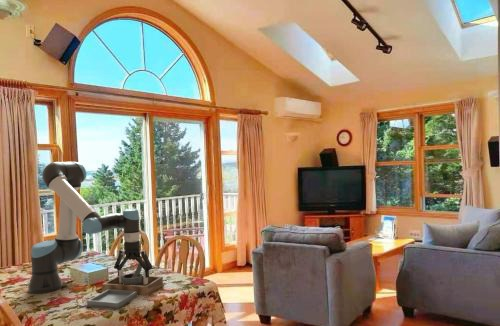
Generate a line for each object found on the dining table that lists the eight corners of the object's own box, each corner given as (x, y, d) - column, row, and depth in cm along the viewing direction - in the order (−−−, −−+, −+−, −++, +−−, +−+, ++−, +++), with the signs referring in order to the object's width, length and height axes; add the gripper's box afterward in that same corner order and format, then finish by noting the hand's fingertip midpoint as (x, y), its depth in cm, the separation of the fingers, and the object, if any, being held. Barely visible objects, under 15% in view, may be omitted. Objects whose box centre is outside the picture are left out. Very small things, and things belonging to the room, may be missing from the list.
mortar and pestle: (128, 294, 187) (127, 269, 187) (118, 290, 194) (117, 266, 194) (148, 288, 195) (147, 264, 195) (138, 284, 202) (137, 261, 202)
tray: (87, 306, 173) (87, 300, 173) (108, 294, 188) (108, 289, 188) (118, 309, 169) (117, 303, 169) (137, 296, 184) (137, 291, 184)
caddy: (102, 293, 190) (102, 283, 190) (121, 282, 205) (121, 274, 205) (146, 296, 184) (146, 286, 184) (163, 285, 199) (162, 276, 199)
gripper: (105, 241, 194) (107, 284, 194) (150, 242, 187) (152, 286, 188) (114, 238, 201) (116, 279, 201) (158, 239, 195) (159, 282, 195)
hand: (133, 283), depth 194 cm, fingers open, 13 cm apart
